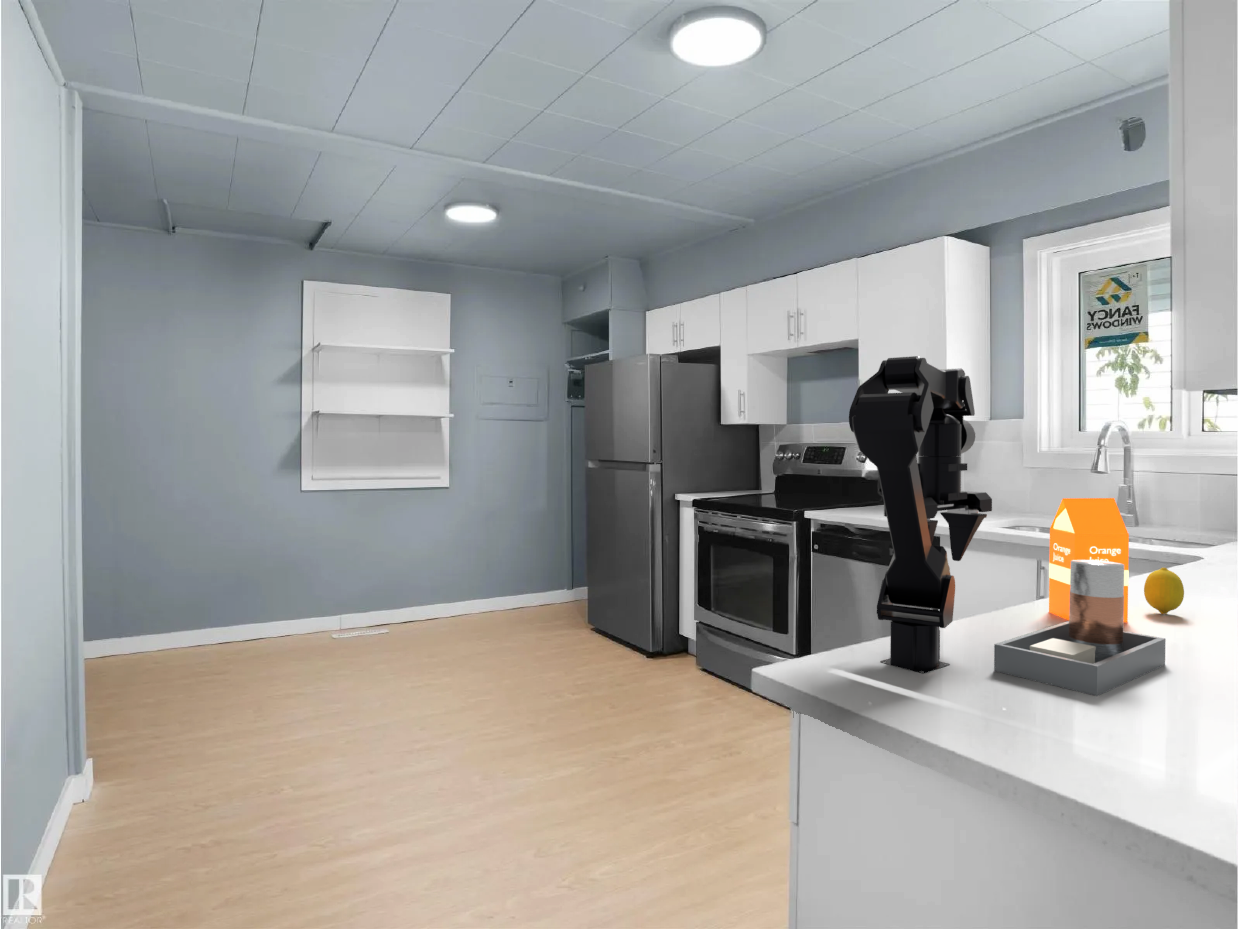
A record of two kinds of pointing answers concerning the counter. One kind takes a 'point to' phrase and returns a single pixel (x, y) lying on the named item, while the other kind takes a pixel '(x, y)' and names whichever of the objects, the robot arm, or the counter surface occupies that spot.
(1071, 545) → the orange juice
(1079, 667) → the grey rectangular tray
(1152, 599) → the lemon
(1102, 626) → the steel tin
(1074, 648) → the cream smooth square block
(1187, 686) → the counter surface
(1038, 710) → the counter surface
